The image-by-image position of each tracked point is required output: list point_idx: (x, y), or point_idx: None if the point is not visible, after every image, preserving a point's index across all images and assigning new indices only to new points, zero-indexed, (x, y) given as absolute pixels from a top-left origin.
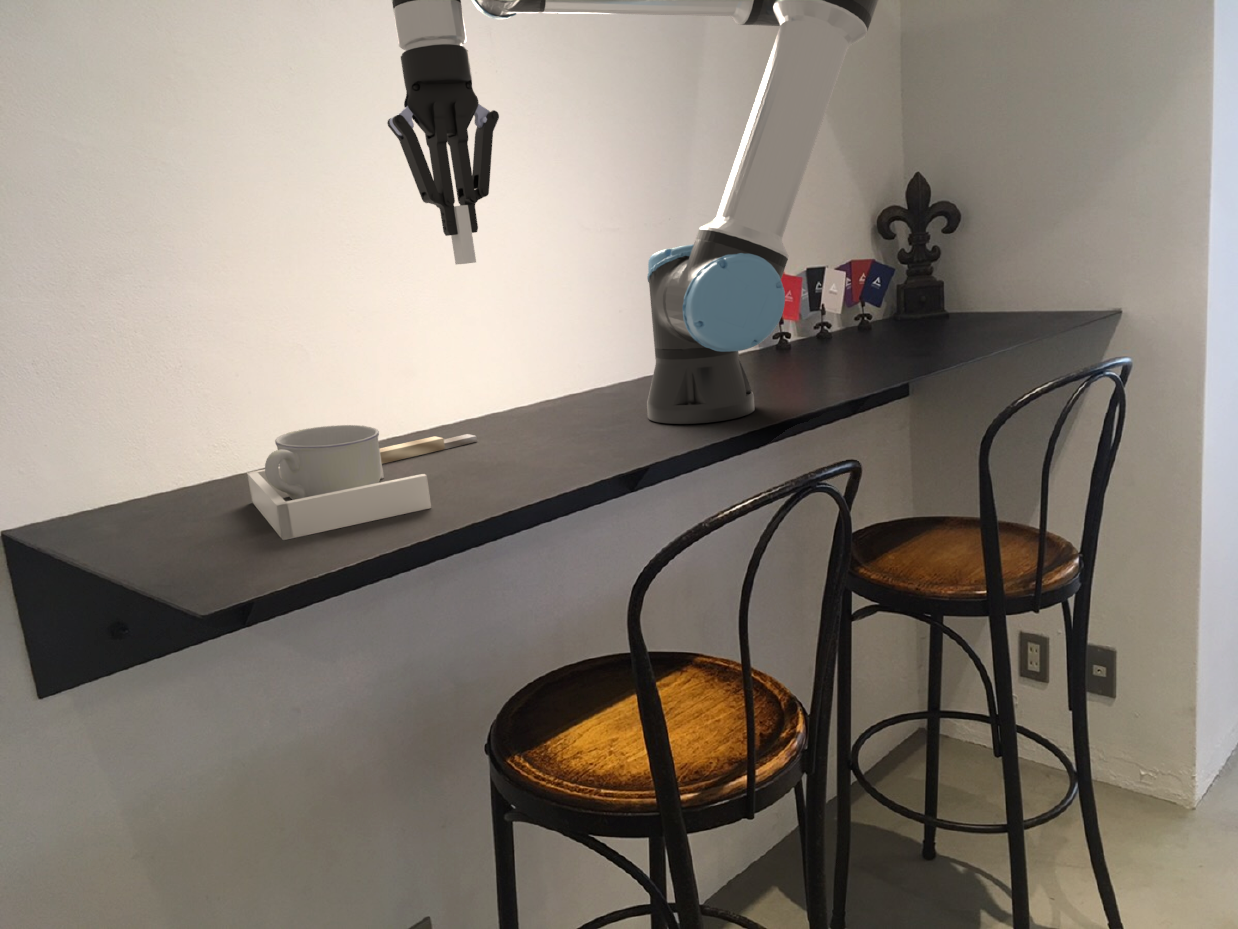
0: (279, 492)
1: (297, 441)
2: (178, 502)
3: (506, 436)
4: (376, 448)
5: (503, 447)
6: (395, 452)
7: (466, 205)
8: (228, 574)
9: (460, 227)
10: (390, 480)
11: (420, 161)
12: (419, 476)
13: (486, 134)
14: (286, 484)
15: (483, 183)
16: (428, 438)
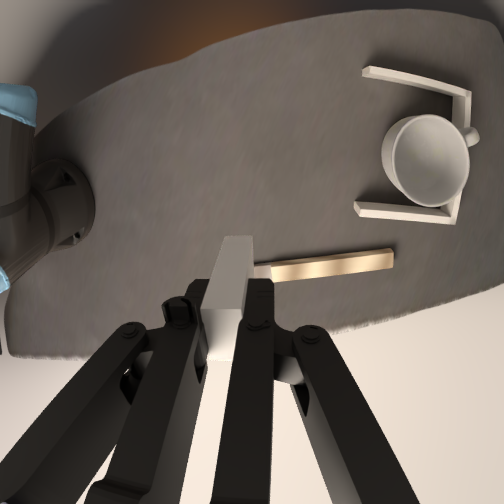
0: (432, 209)
1: (442, 197)
2: (465, 262)
3: (208, 264)
4: (397, 129)
5: (228, 223)
6: (320, 260)
7: (205, 307)
8: (486, 59)
9: (242, 274)
10: (397, 78)
11: (363, 435)
12: (375, 68)
13: (22, 468)
14: (460, 130)
15: (119, 349)
16: (280, 278)
